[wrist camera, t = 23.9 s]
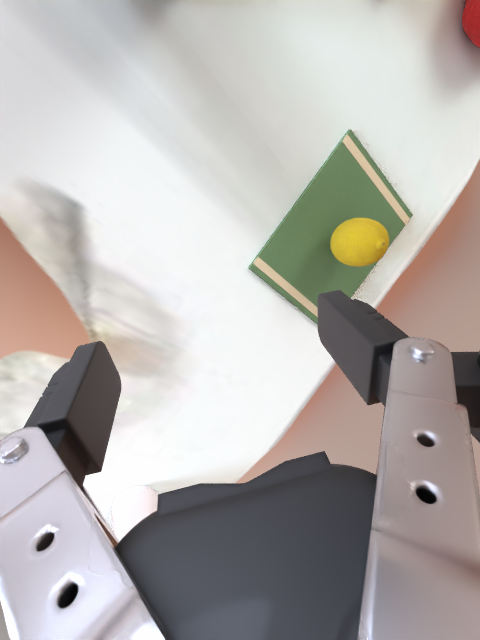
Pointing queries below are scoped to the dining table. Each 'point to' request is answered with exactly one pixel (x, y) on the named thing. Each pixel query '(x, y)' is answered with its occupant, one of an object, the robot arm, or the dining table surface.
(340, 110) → the dining table surface
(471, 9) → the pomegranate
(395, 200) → the cloth
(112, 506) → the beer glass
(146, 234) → the dining table surface
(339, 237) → the lemon
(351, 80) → the dining table surface
